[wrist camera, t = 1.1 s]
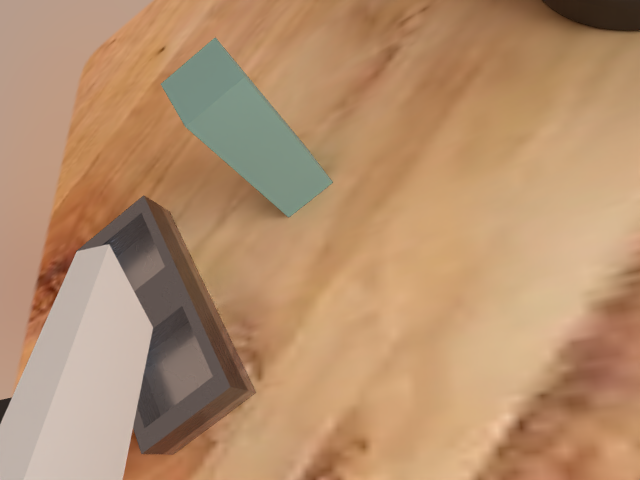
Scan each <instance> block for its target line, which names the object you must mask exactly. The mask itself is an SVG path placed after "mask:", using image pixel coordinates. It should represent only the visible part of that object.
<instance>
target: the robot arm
mask: <svg viewBox="0 0 640 480" xmlns="http://www.w3.org/2000/svg"><path fill="white" fill-rule="evenodd" d="M543 1H544V2H545V3H546V4H547V5H548V6H549V7H550V8H552V9H553V10H555V11H556V12H558V13H559V14H561V15H563V16H565V17H567V18H569V19H571V20H574V21H576V22H579V23H583V24H586V25H590V26H594V27H599V28H606V29H615V30H640V0H543ZM152 330H153V326H152V325H151V323H150V321H149V319H148V317H147V315H146V313H145V311H144V309H143V307H142V306H141V304H140V302H139V300H138V298H137V296H136V294H135V292H134V290H133V288H132V287H131V285H130V283H129V281H128V279H127V277H126V275H125V273H124V271H123V269H122V268H121V266H120V264H119V262H118V260H117V258H116V256H115V254H114V252H113V250H112V249H111V247H110V245H109V244H108V245H103V246H99V247H94V248H90V249H85V250H80V251H77V252H76V254H75V257H74V259H73V261H72V263H71V266H70V268H69V270H68V272H67V275H66V277H65V279H64V281H63V284H62V286H61V288H60V290H59V293H58V295H57V297H56V299H55V302H54V304H53V306H52V308H51V311H50V313H49V315H48V317H47V320H46V322H45V324H44V327H43V329H42V331H41V333H40V336H39V338H38V340H37V342H36V345H35V347H34V349H33V351H32V354H31V356H30V358H29V360H28V363H27V365H26V367H25V369H24V372H23V374H22V376H21V378H20V381H19V383H18V385H17V388H16V390H15V392H14V394H13V397H12V398H8V399H4V400H0V480H123V475H124V470H125V465H126V460H127V455H128V450H129V445H130V440H131V435H132V430H133V425H134V420H135V415H136V410H137V405H138V400H139V395H140V390H141V385H142V380H143V375H144V370H145V365H146V360H147V355H148V350H149V345H150V340H151V335H152Z"/></svg>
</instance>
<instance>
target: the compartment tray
mask: <svg viewBox="0 0 640 480" xmlns="http://www.w3.org/2000/svg"><path fill="white" fill-rule="evenodd" d="M108 244H109V245H110V247H111V249H112V250H113V252H114V254H115V256H116V258H117V260H118V262H119V264H120V266H121V268H122V269H123V271H124V273H125V275H126V277H127V279H128V281H129V283H130V285H131V287H132V288H133V290H134V292H135V294H136V296H137V298H138V300H139V302H140V304H141V306H142V307H143V309H144V311H145V313H146V315H147V317H148V319H149V321H150V323H151V325H152V326H153V330H152V335H151V340H150V345H149V350H148V355H147V360H146V365H145V370H144V375H143V380H142V385H141V390H140V395H139V400H138V405H137V410H136V415H135V420H134V425H133V429H134V432H135V435H136V438H137V441H138V444H139V447H140V451H141V454H171V455H173V454H175V453H176V452H177V451H179V450H180V449H181V448H183V447H184V446H185V445H187V444H188V443H189V442H191V441H192V440H193V439H195V438H196V437H197V436H199V435H200V434H201V433H203V432H204V431H205V430H207V429H208V428H209V427H211V426H212V425H213V424H215V423H216V422H217V421H219V420H220V419H221V418H223V417H224V416H225V415H227V414H228V413H229V412H231V411H232V410H233V409H235V408H236V407H237V406H239V405H240V404H241V403H243V402H244V401H245V400H247V399H248V398H249V397H251V396H252V395H253V394H255V393H256V392H255V389H254V387H253V385H252V383H251V381H250V379H249V377H248V375H247V373H246V371H245V369H244V367H243V364H242V362H241V360H240V358H239V356H238V354H237V352H236V350H235V348H234V346H233V344H232V341H231V339H230V337H229V335H228V333H227V331H226V329H225V327H224V325H223V323H222V321H221V319H220V316H219V314H218V312H217V310H216V308H215V306H214V304H213V302H212V300H211V298H210V296H209V293H208V291H207V289H206V287H205V285H204V283H203V281H202V279H201V277H200V275H199V273H198V270H197V268H196V266H195V264H194V262H193V260H192V258H191V256H190V254H189V252H188V250H187V248H186V245H185V243H184V241H183V239H182V237H181V235H180V233H179V231H178V229H177V227H176V225H175V222H174V220H173V218H172V216H171V214H170V212H169V211H168V210H166V209H165V208H163V207H162V206H160V205H158V204H157V203H155V202H154V201H152V200H150V199H149V198H147V197H146V196H142V197H141V198H140V199H139V200H138V201H136V202H135V203H134V204H133V205H132V206H130V207H129V208H128V209H127V210H126V211H124V212H123V213H122V214H121V215H120V216H118V217H117V218H116V219H115V220H113V221H112V222H111V223H110V224H109V225H107V226H106V227H105V228H104V229H103V230H101V231H100V232H99V233H98V234H97V235H95V236H94V237H93V238H92V239H90V240H89V241H88V242H87V243H86V244H84V245H83V246H82V247H81V248H80V249H78V250H77V251H80V250H85V249H90V248H94V247H99V246H103V245H108ZM77 251H76V252H77Z"/></svg>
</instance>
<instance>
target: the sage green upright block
mask: <svg viewBox="0 0 640 480" xmlns="http://www.w3.org/2000/svg"><path fill="white" fill-rule="evenodd" d="M161 85H162V87H163V89H164V91H165V92H166V94H167V96H168V98H169V99H170V101H171V103H172V105H173V106H174V108H175V110H176V112H177V113H178V115H179V117H180V118H181V120H182V122H183V124H184V125H185V127H186V128H187V129H188V130H190V131H191V132H192V133H193V134H194V135H195V136H196V137H198V138H199V139H200V140H201V141H202V142H203V143H204V144H206V145H207V146H208V147H209V148H210V149H211V150H212V151H213V152H215V153H216V154H217V155H218V156H219V157H220V158H221V159H223V160H224V161H225V162H226V163H227V164H228V165H229V166H231V167H232V168H233V169H234V170H235V171H236V172H237V173H239V174H240V175H241V176H242V177H243V178H244V179H245V180H247V181H248V182H249V183H250V184H251V185H252V186H253V187H255V188H256V189H257V190H258V191H259V192H260V193H261V194H262V195H264V196H265V197H266V198H267V199H268V200H269V201H270V202H272V203H273V204H274V205H275V206H276V207H277V208H278V209H280V210H281V211H282V212H283V213H284V214H285V215H286V216H288V217H290V216H291V215H293V214H294V213H295V212H297V211H298V210H299V209H300V208H302V207H303V206H304V205H305V204H307V203H308V202H309V201H310V200H312V199H313V198H314V197H315V196H317V195H318V194H319V193H321V192H322V191H323V190H324V189H326V188H327V187H328V186H329V185H331V184H332V183H333V182H332V181H331V179H330V178H329V177H328V175H327V174H326V173H325V171H324V170H323V169H322V167H321V166H320V165H319V163H318V162H317V161H316V159H315V158H314V157H313V155H312V154H311V153H310V151H309V150H308V149H307V148H306V146H305V145H304V144H303V143H302V141H301V140H300V139H299V138H298V137H297V135H296V134H295V133H294V132H293V131H292V129H291V128H290V127H289V126H288V125H287V123H286V122H285V121H284V120H283V119H282V117H281V116H280V115H279V114H278V112H277V111H276V110H275V109H274V108H273V106H272V105H271V104H270V103H269V102H268V100H267V99H266V98H265V97H264V96H263V94H262V93H261V92H260V91H259V90H258V88H257V87H256V86H255V85H254V83H253V82H252V81H251V80H250V79H249V77H248V76H247V75H246V74H245V73H244V71H243V70H242V69H241V68H240V67H239V65H238V64H237V63H236V62H235V61H234V59H233V58H232V57H231V56H230V54H229V53H228V52H227V51H226V50H225V48H224V47H223V46H222V45H221V44H220V42H219V41H218V40H217V39H216V38H214V39H213V40H212V41H210V42H209V43H208V44H207V45H206V46H205V47H203V48H202V49H201V50H200V51H199V52H198V53H196V54H195V55H194V56H193V57H192V58H191V59H189V60H188V61H187V62H186V63H185V64H184V65H182V66H181V67H180V68H179V69H178V70H177V71H175V72H174V73H173V74H172V75H171V76H170V77H168V78H167V79H166V80H165V81H164V82H163V83H161Z"/></svg>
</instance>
